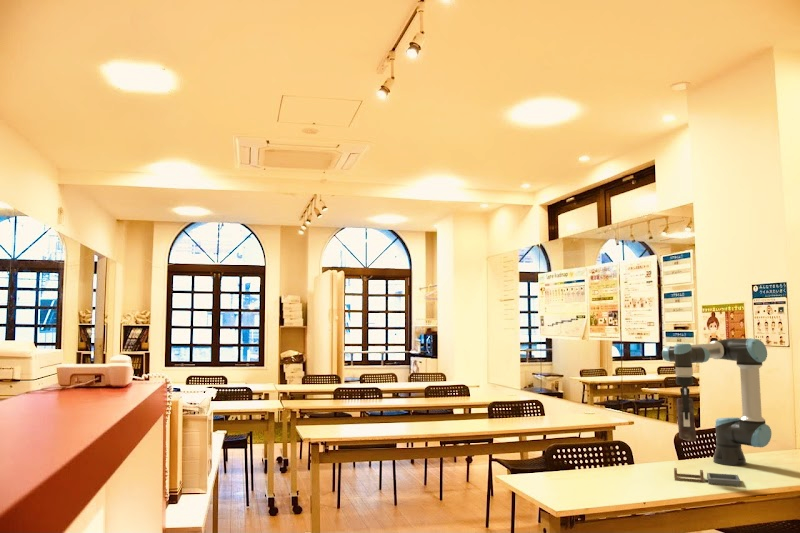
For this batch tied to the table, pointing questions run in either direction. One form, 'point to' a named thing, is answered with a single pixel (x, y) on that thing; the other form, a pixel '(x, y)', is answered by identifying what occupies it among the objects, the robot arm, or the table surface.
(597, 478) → the table surface
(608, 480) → the table surface
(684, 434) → the dark brown tall block
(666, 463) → the table surface
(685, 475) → the cradle
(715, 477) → the tray
